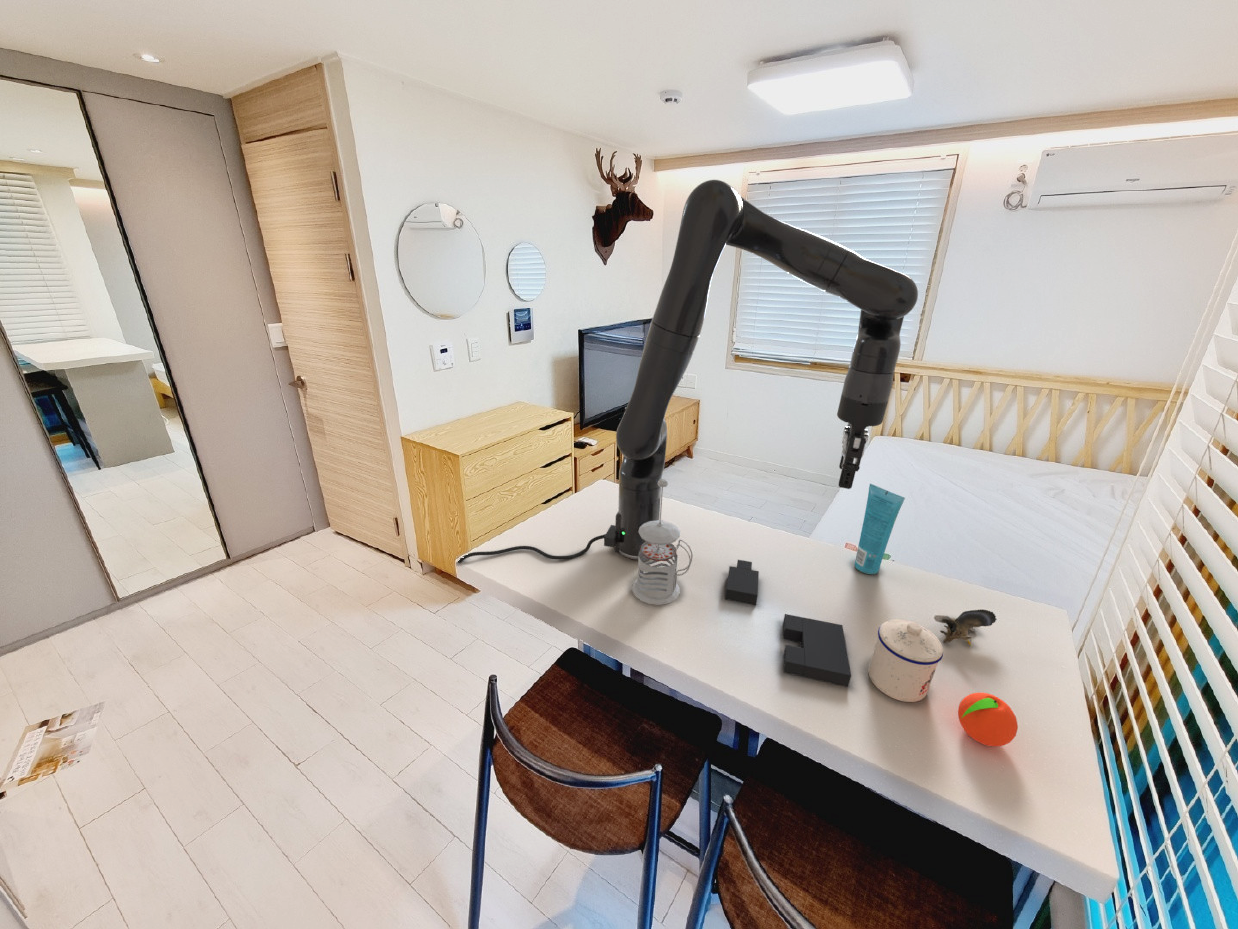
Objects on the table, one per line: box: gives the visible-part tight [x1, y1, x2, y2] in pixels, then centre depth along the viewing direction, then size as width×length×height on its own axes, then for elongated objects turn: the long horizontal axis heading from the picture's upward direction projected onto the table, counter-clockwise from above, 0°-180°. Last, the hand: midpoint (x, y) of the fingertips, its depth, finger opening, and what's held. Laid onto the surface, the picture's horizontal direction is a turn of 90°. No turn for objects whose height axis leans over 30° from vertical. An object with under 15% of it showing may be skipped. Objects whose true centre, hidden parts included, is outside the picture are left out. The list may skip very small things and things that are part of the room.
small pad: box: [724, 559, 760, 606], centre depth 104 cm, size 11×6×2 cm, turn 164°
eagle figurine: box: [933, 609, 998, 646], centre depth 91 cm, size 8×7×9 cm
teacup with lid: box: [867, 619, 944, 703], centre depth 81 cm, size 12×9×12 cm
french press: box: [631, 478, 694, 606], centre depth 97 cm, size 10×12×25 cm
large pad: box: [782, 613, 852, 688], centre depth 87 cm, size 10×12×2 cm
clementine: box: [957, 692, 1019, 747], centre depth 72 cm, size 8×7×7 cm
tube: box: [854, 483, 906, 575], centre depth 107 cm, size 7×5×19 cm, turn 39°
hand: (844, 478), depth 94 cm, fingers open, 8 cm apart
